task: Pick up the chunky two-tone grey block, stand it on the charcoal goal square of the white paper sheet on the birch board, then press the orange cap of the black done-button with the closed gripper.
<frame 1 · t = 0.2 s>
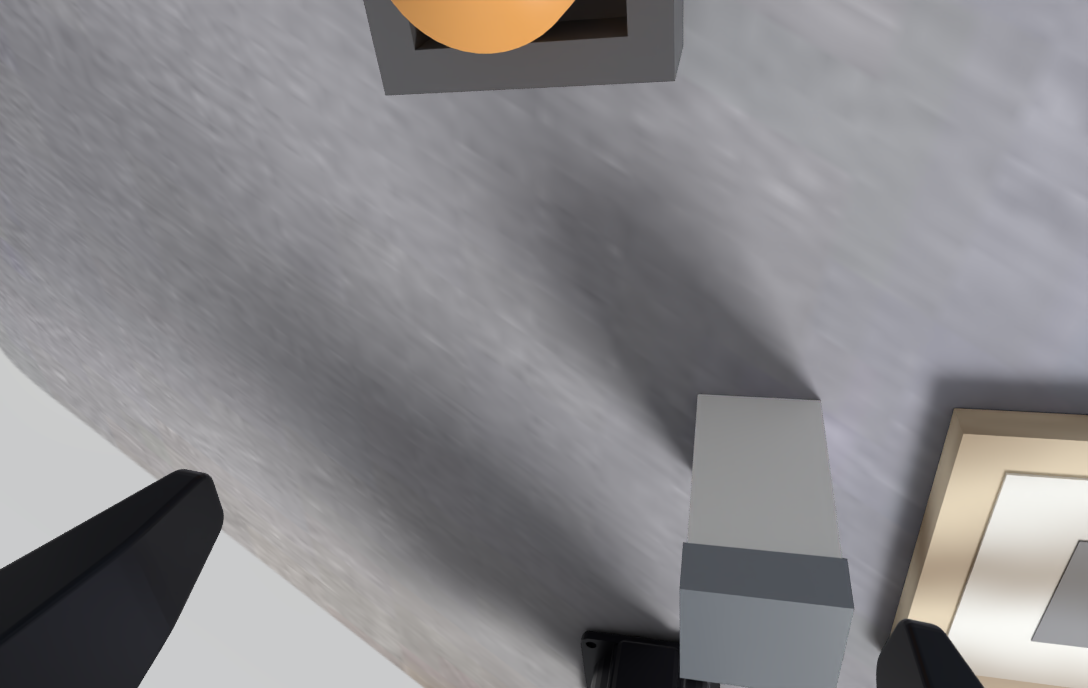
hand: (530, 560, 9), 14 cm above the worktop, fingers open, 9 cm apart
two-tone grey block: (754, 440, 26), on the worktop
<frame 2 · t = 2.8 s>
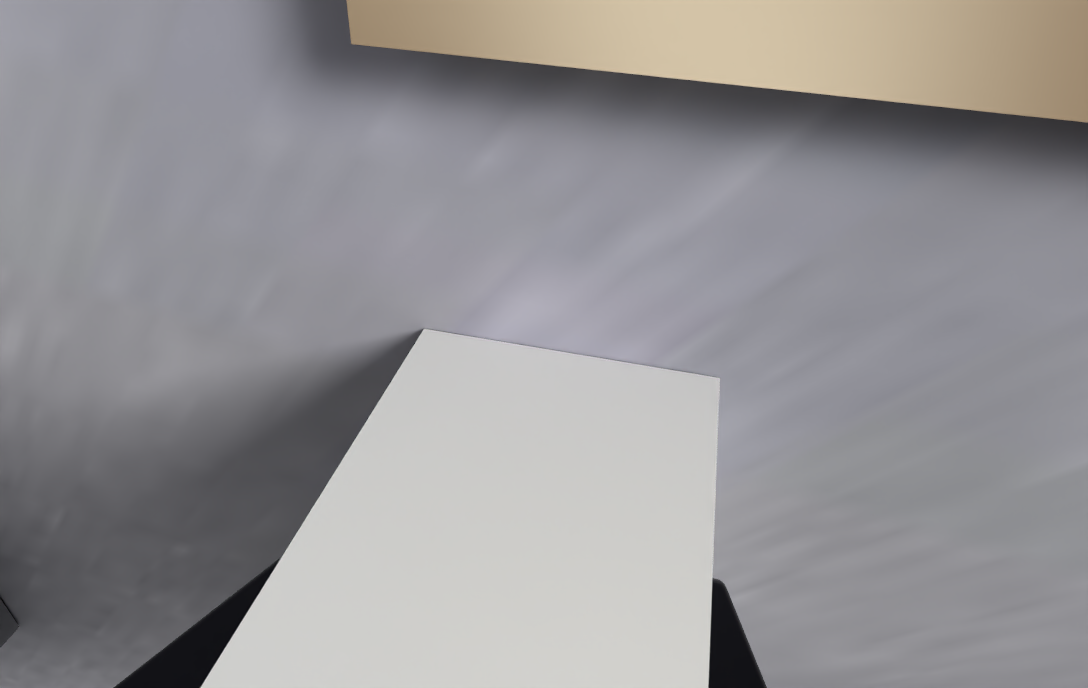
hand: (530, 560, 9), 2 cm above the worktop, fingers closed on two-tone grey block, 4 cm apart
two-tone grey block: (559, 459, 11), on the worktop, touching gripper
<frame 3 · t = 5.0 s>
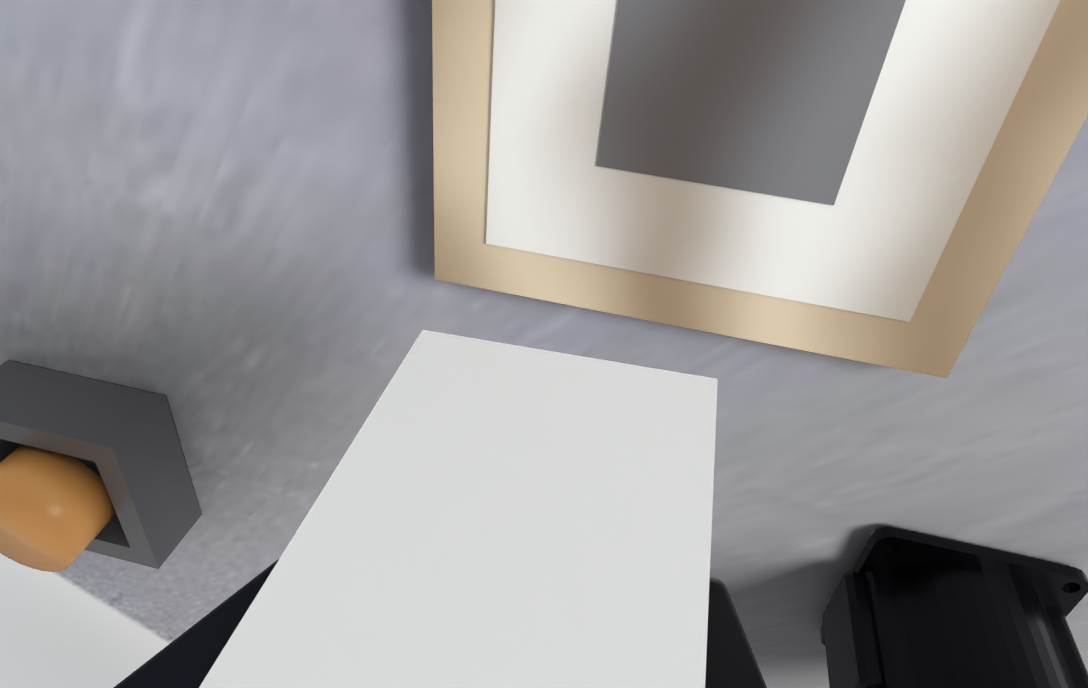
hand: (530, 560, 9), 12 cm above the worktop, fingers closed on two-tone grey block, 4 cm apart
button housing: (110, 441, 31), on the worktop
two-tone grey block: (557, 460, 11), point 10 cm above the worktop, touching gripper
drawing board: (741, 48, 16), on the worktop
done button: (40, 508, 28), point 4 cm above the worktop, slide at 0.0 cm
when the fingers open (4 cm above the worktop, at t = 7.5 s): two-tone grey block stays where it is, resting on drawing board.
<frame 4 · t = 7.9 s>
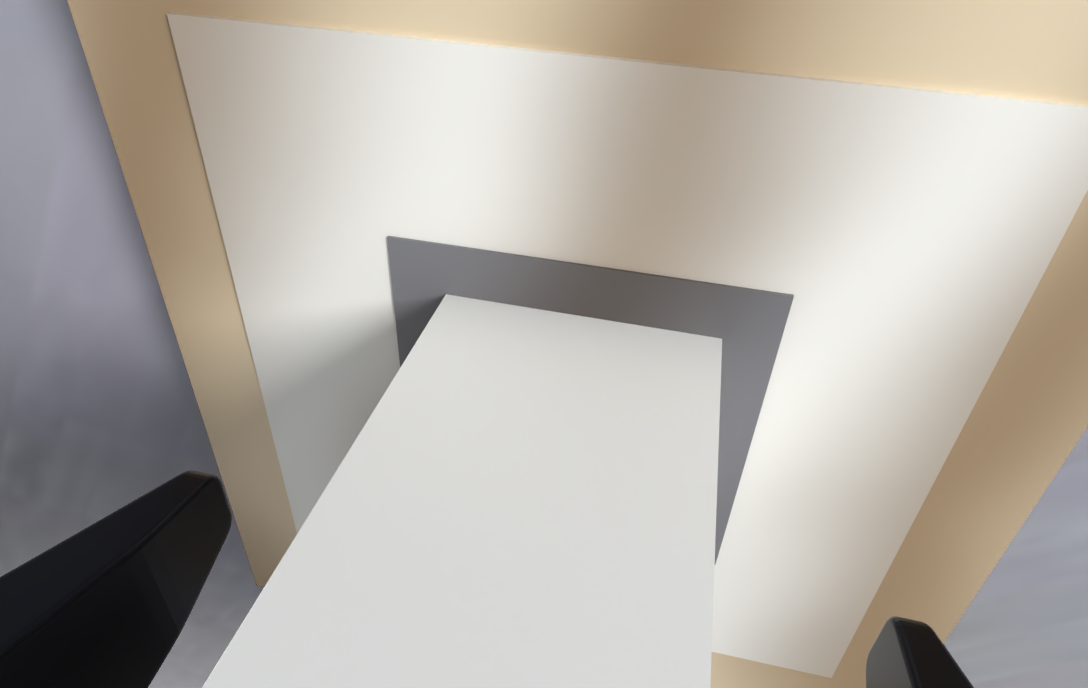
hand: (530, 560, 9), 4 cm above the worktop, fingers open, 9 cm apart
two-tone grey block: (570, 419, 11), point 1 cm above the worktop, touching drawing board
drawing board: (583, 367, 13), on the worktop
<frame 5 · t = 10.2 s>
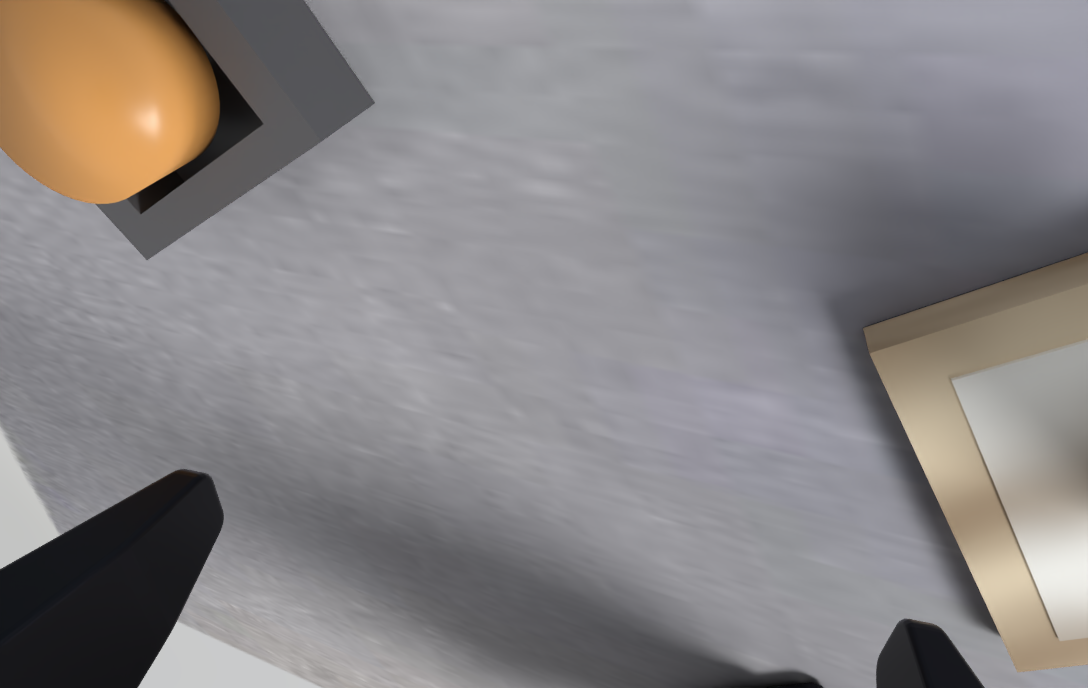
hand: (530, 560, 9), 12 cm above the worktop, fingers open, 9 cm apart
button housing: (199, 50, 19), on the worktop
done button: (97, 90, 16), point 4 cm above the worktop, slide at 0.0 cm
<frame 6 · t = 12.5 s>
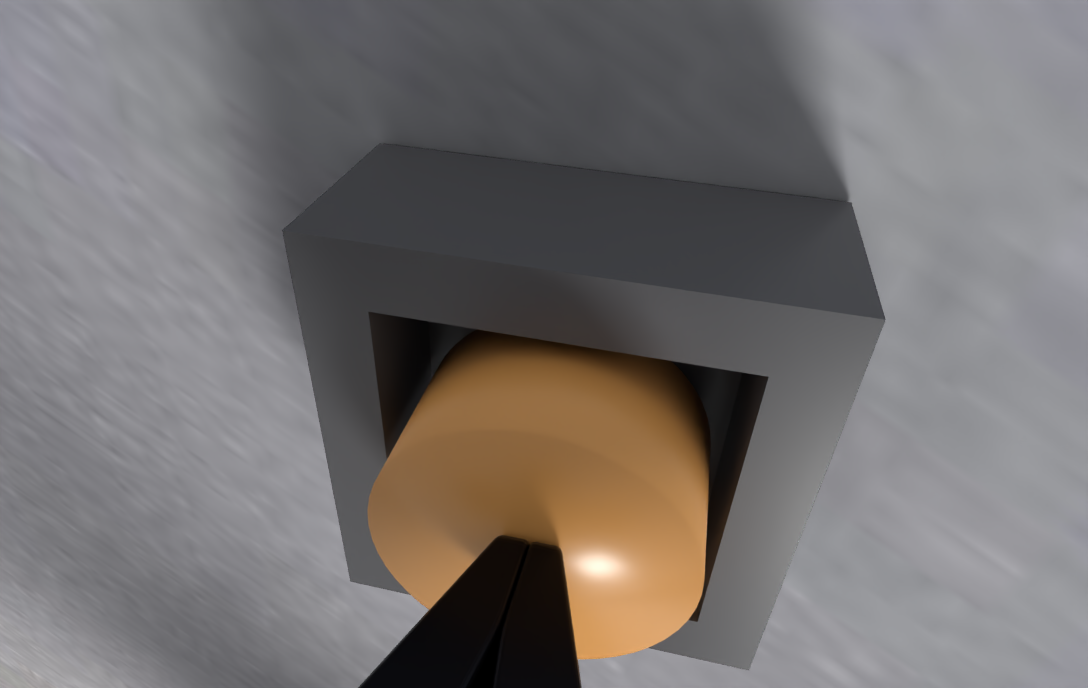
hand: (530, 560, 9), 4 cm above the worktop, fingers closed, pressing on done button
button housing: (586, 359, 13), on the worktop
done button: (548, 489, 10), point 3 cm above the worktop, slide at 0.7 cm, touching gripper
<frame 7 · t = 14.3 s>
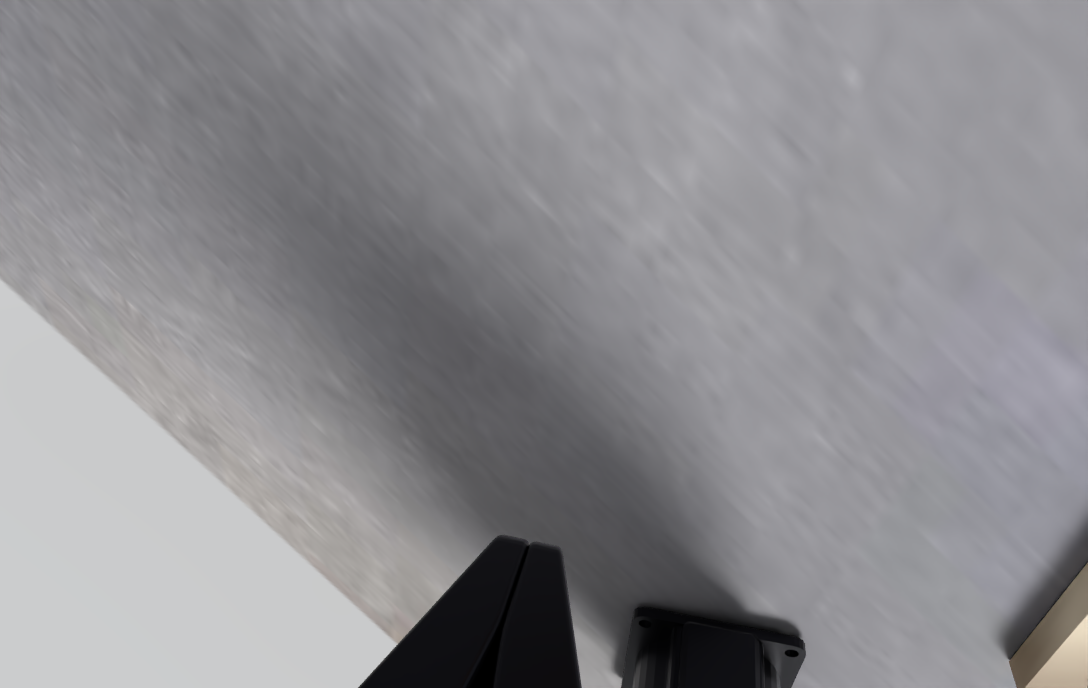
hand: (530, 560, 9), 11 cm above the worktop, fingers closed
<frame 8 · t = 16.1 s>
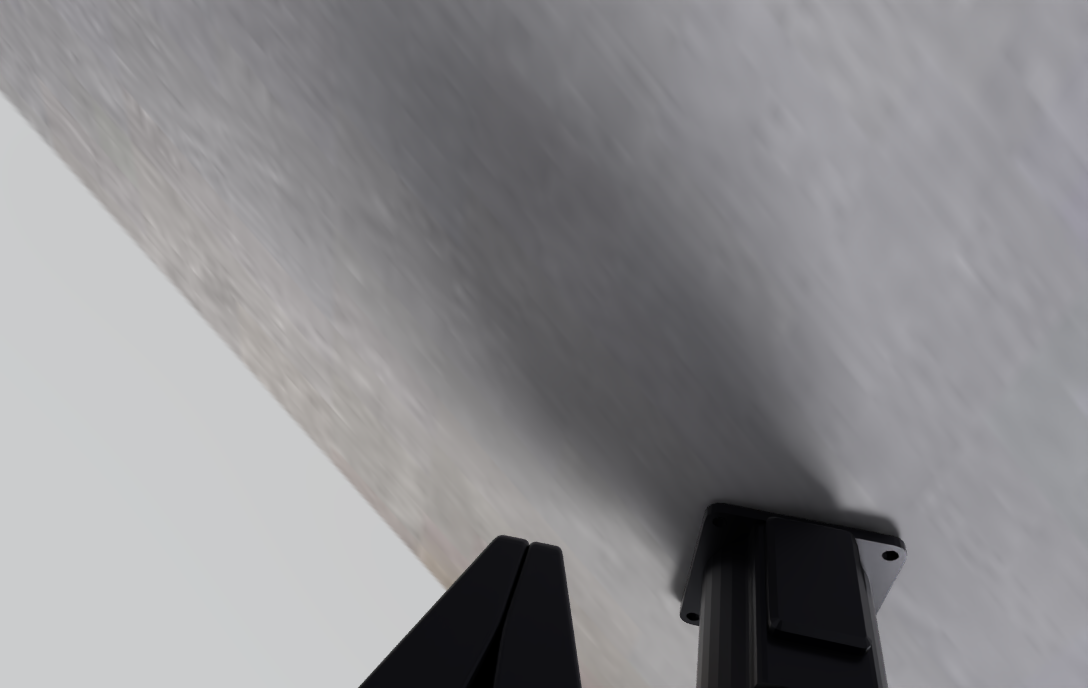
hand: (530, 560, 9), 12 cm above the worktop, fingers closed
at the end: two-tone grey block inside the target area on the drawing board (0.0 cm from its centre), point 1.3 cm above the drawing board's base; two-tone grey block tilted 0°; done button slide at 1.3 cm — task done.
